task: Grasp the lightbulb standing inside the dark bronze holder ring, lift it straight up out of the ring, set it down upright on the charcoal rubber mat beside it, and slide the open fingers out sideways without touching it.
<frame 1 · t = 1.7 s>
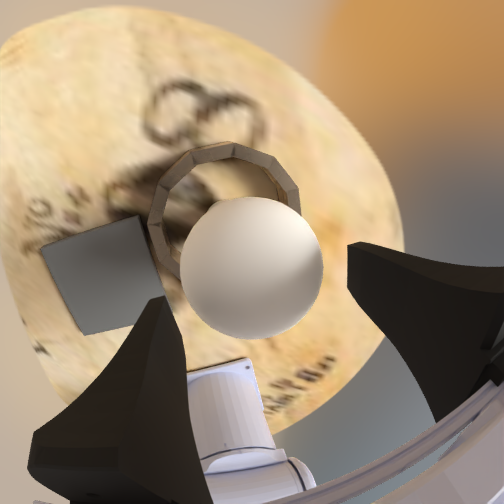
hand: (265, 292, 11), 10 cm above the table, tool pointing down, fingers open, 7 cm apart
lightbulb: (222, 213, 20), resting in collar
collar: (223, 214, 19), on the table
mat: (106, 280, 19), on the table
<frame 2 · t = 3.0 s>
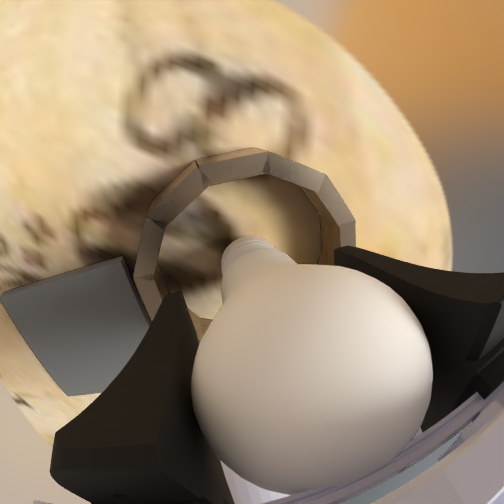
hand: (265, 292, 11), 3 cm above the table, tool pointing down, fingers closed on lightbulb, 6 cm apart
lightbulb: (243, 252, 14), resting in collar, touching gripper
collar: (244, 254, 14), on the table
mat: (87, 337, 13), on the table
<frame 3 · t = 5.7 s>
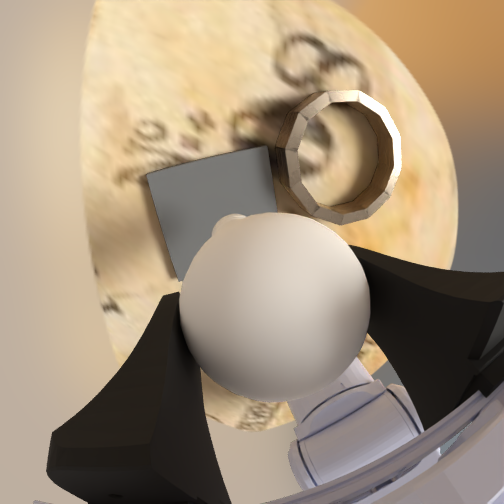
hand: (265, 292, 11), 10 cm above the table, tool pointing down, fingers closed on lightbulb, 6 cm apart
lightbulb: (231, 230, 17), point 4 cm above the table, touching gripper
collar: (337, 154, 20), on the table
mat: (218, 213, 20), on the table
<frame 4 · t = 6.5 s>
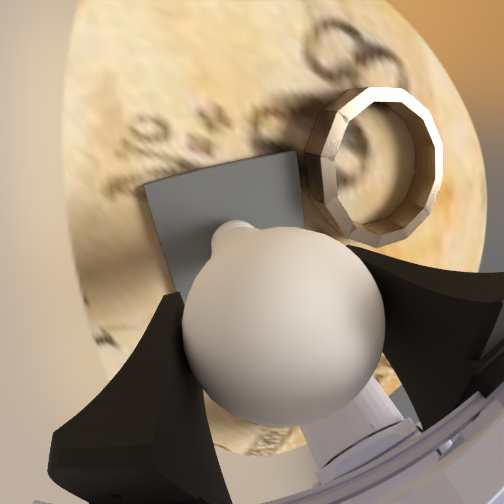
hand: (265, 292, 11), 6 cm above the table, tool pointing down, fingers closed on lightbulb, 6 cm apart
lightbulb: (231, 236, 16), resting on mat, touching gripper
collar: (373, 163, 17), on the table
mat: (233, 233, 16), on the table
when the fingers open (6 cm above the table, at t = 7.7 s): lightbulb stays where it is, resting on mat.
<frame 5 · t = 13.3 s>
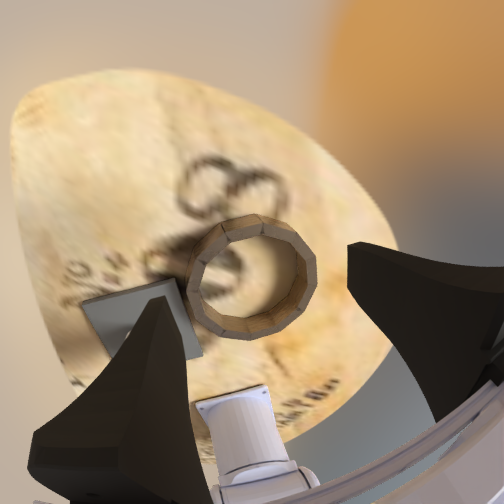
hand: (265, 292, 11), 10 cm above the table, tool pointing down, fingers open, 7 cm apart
collar: (249, 275, 22), on the table
mat: (144, 329, 22), on the table
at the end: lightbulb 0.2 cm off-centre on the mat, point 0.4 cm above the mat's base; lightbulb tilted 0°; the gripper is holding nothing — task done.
